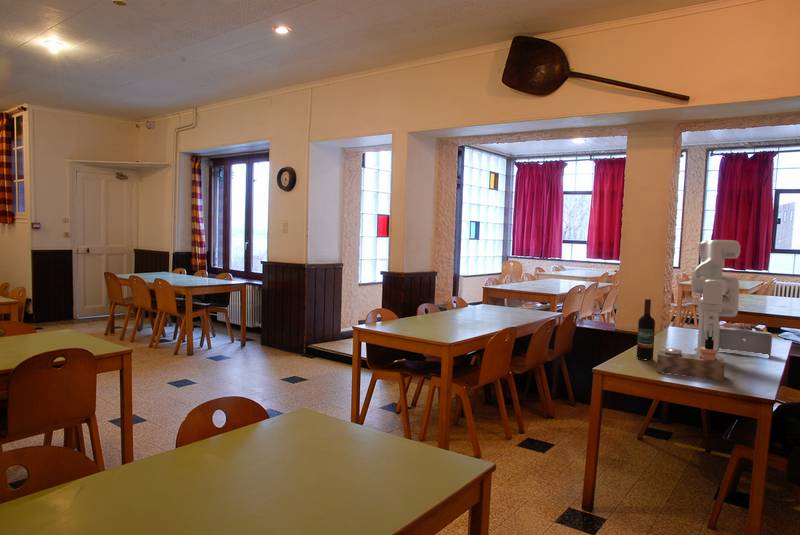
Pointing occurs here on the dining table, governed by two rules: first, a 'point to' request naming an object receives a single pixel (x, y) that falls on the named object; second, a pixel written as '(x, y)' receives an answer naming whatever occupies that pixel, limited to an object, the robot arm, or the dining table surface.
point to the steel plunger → (673, 352)
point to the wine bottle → (646, 333)
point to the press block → (691, 366)
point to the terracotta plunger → (708, 353)
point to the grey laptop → (753, 343)
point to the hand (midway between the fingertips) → (709, 348)
